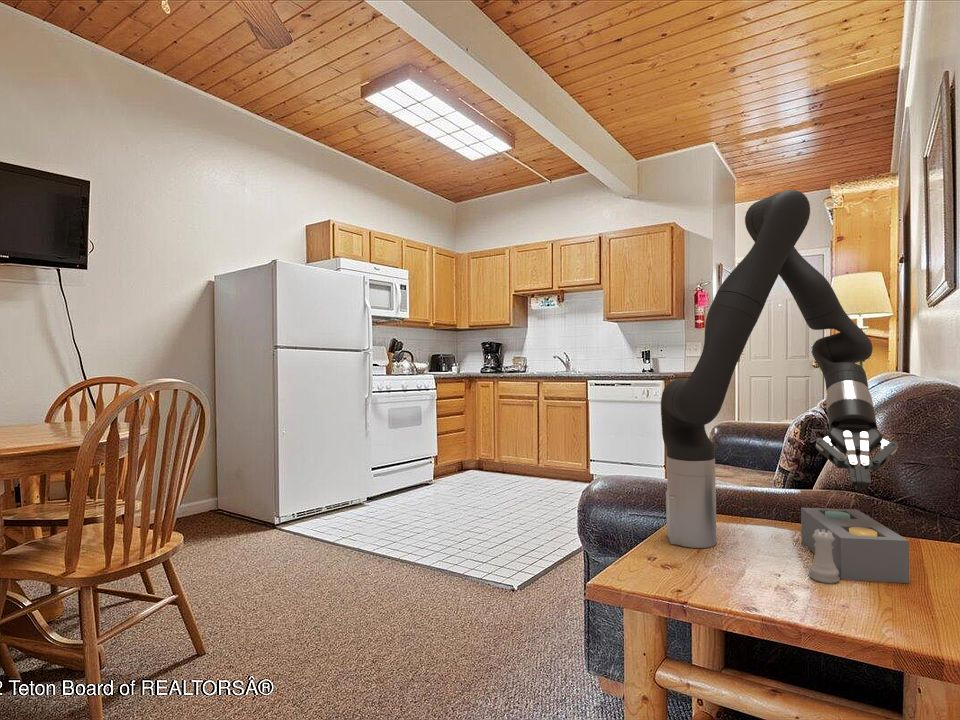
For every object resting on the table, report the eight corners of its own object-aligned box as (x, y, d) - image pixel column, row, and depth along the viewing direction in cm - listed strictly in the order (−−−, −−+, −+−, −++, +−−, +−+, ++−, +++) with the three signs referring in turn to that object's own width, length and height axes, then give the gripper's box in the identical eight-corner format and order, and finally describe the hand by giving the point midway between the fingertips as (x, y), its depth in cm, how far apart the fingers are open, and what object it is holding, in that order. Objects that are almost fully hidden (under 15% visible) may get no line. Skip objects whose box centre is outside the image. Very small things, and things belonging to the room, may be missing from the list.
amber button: (855, 554, 92) (855, 534, 92) (844, 546, 96) (844, 526, 96) (882, 555, 91) (881, 535, 91) (870, 547, 95) (870, 527, 95)
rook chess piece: (846, 584, 89) (845, 535, 89) (819, 584, 89) (818, 536, 89) (828, 573, 94) (827, 527, 94) (802, 573, 94) (802, 527, 93)
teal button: (830, 534, 102) (830, 516, 102) (821, 528, 106) (821, 510, 106) (854, 535, 101) (854, 517, 101) (844, 529, 105) (844, 511, 105)
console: (841, 579, 91) (840, 538, 91) (801, 542, 108) (800, 507, 108) (909, 583, 89) (908, 540, 89) (857, 544, 106) (856, 509, 106)
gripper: (811, 396, 105) (818, 472, 95) (895, 397, 99) (913, 478, 89) (809, 420, 110) (815, 495, 99) (889, 423, 104) (905, 502, 93)
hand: (861, 487), depth 94 cm, fingers closed
